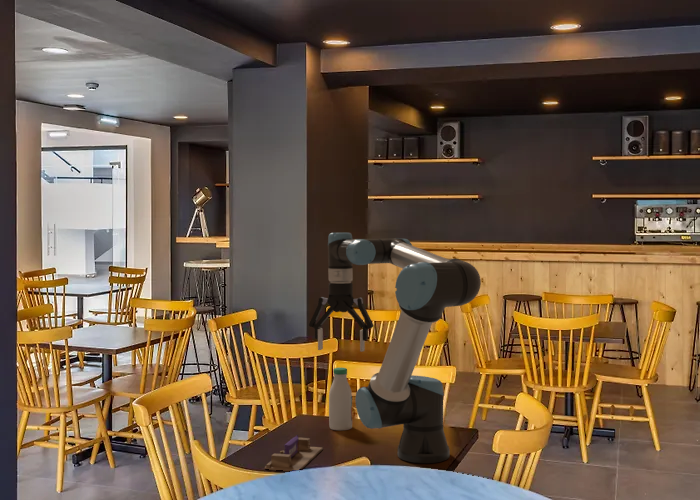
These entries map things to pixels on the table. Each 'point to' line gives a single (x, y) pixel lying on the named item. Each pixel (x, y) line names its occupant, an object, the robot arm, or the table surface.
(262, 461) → the table surface
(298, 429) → the table surface
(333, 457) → the table surface
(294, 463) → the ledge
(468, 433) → the table surface
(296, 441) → the snack package
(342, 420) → the milk bottle
